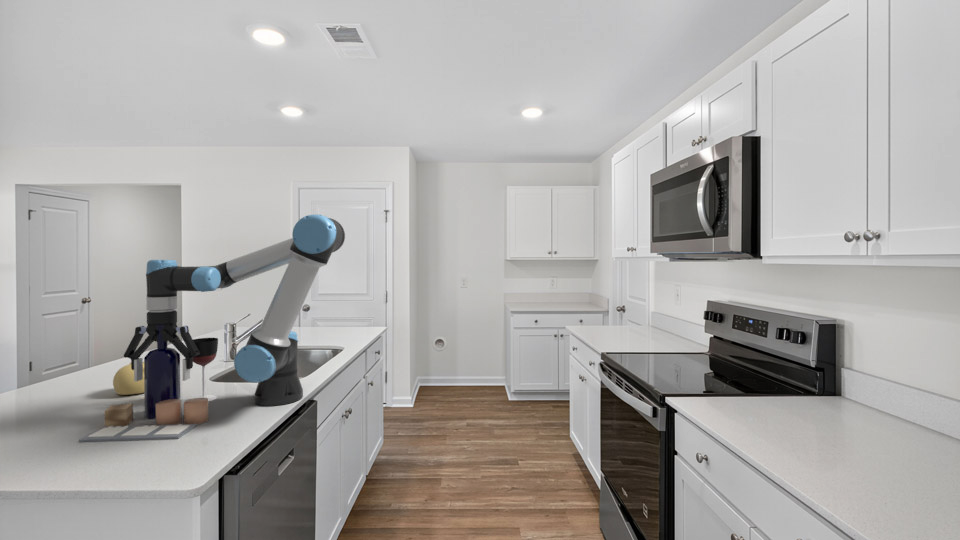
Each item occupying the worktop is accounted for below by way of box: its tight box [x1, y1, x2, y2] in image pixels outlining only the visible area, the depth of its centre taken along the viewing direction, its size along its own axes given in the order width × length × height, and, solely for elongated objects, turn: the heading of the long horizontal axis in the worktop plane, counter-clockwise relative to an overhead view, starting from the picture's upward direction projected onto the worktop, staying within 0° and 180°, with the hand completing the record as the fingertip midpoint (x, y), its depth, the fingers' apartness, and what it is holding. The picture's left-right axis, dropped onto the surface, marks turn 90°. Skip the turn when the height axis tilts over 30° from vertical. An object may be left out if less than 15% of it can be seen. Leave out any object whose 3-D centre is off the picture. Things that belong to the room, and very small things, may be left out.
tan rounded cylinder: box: [183, 397, 209, 425], centre depth 129 cm, size 6×6×6 cm
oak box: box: [103, 402, 134, 427], centre depth 127 cm, size 5×5×5 cm
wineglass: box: [192, 337, 219, 402], centre depth 149 cm, size 8×9×20 cm
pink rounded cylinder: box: [155, 399, 182, 425], centre depth 128 cm, size 6×6×6 cm
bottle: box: [143, 325, 181, 420], centre depth 134 cm, size 9×9×30 cm
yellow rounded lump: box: [112, 361, 144, 396], centre depth 155 cm, size 11×12×11 cm
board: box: [78, 423, 197, 443], centre depth 120 cm, size 24×9×1 cm, turn 96°
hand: (162, 380), depth 135 cm, fingers open, 13 cm apart
